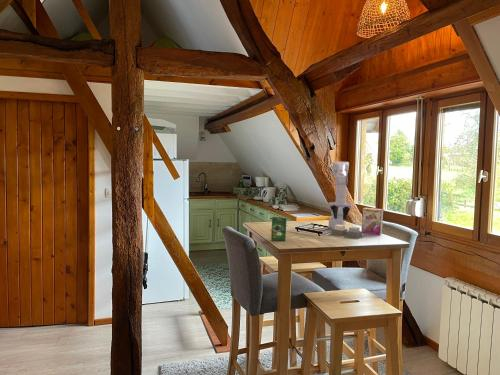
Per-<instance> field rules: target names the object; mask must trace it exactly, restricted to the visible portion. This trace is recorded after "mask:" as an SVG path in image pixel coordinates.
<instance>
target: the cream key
mask: <svg viewBox="0 0 500 375" xmlns="http://www.w3.org/2000/svg"><path fill="white" fill-rule="evenodd" d="M345 229H346V225H335V228H334V230H341V231H342V230H345Z"/></svg>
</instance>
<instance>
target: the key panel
mask: <svg viewBox="0 0 500 375" xmlns="http://www.w3.org/2000/svg"><path fill="white" fill-rule="evenodd" d="M329 236H335V237H341V238H342V237H343V238H348V239H353V240H359V239H363V238H365V236H364V235H363V233H362V230H360V231H359V232H358V233H354V232H349V228H348V229H347V228H345V230H342V231H341V230H334V229H331V233H329Z"/></svg>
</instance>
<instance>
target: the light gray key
mask: <svg viewBox="0 0 500 375" xmlns="http://www.w3.org/2000/svg"><path fill="white" fill-rule="evenodd" d="M348 231H349V232H354V233H358V232H359V231H361V230H360V227H358V226H350V227H348Z"/></svg>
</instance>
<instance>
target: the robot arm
mask: <svg viewBox="0 0 500 375" xmlns="http://www.w3.org/2000/svg"><path fill="white" fill-rule="evenodd" d="M349 166H350V162H349V161H333V162H332V175H333V176H334V177H335V201H334V202H328V207H330V209H331V210H330V211H331V212H330V214H331V215H330V216H329V218H328V229H331V230H332V229H334V228H335V225H345V223H346V220H347V217H348V214H349V212H350V210H351V209H354V204H350V203H346V202H347V186H348V181H349V180H348V174H349V170H350V169H349ZM345 226H346V225H345Z"/></svg>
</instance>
